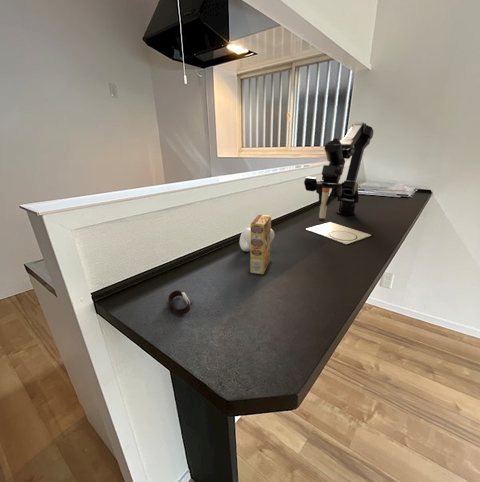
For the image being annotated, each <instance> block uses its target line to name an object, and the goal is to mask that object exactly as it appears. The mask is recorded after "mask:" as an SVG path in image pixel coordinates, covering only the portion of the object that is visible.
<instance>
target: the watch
mask: <svg viewBox="0 0 480 482" xmlns="http://www.w3.org/2000/svg"><path fill="white" fill-rule="evenodd" d="M177 297H182V298H183V299H184V302H186V304H187V306H185V307H183V308H176V307H174V306H173V304H172V301H173V300H174V299H175V298H177ZM167 302H168V305H169V307H170V309H171V311H173V312H174V313H175V314H178V315H185V314H187V313H189V312H190V310H191V301H190V298H189V297H188V296H187V293H185V291H183V292H182V291H181V290H174V291H172V292H171V293H170V294H169V295H168V298H167Z"/></svg>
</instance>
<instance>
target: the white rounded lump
mask: <svg viewBox="0 0 480 482" xmlns="http://www.w3.org/2000/svg"><path fill="white" fill-rule="evenodd" d="M274 239H275V231H274V230H273V229H272V228H271V234H270V244H272V242H273V241H274ZM239 247H240V249H241V250H242V251H243V252H245V253H248V252H251V223H249V224H247V225H246V226H245V227H244V228H243V230H242V231H241V233H240V236H239Z"/></svg>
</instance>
